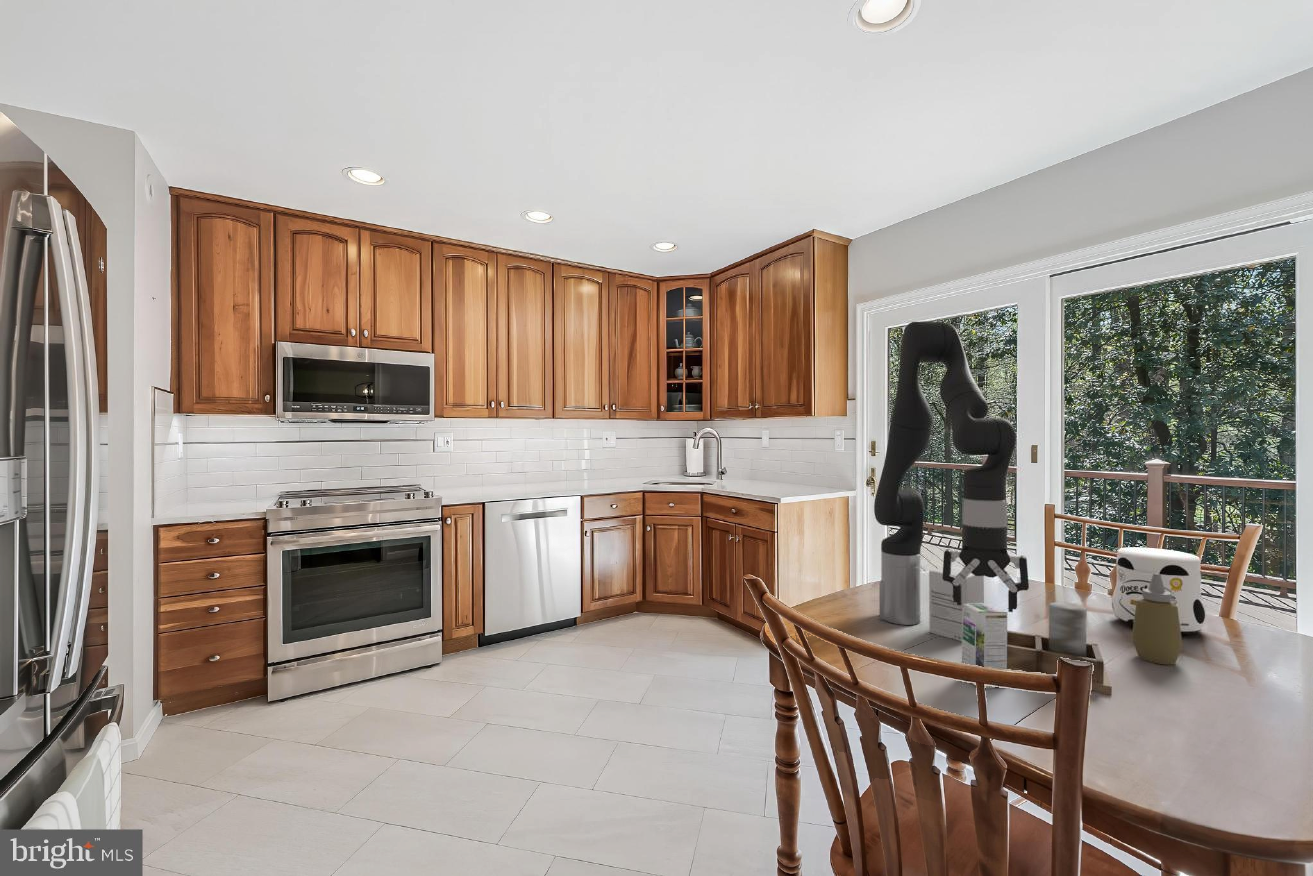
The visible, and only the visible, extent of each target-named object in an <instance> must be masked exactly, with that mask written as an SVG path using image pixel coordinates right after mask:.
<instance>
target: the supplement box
mask: <svg viewBox="0 0 1313 876" xmlns="http://www.w3.org/2000/svg"><path fill="white" fill-rule="evenodd" d="M963 568H964V567H963ZM963 568H962V567H958V566H954V565H951V575H953V576H955V577H956V576H957V575H958V574H959V573H960V572H961V570H962V569H963ZM928 572H929V573H928V577H929V578H928V581H929V582H928V583H929V584H928V587H929V588H928V589H929V591H928V594H929V602H928V603H929V604H928V605H929V606H928V607H929V609H928V610H929V614H928V616H929V619H928V621H929V623H928V624H929V627H928V629H929V633H931V634H934V635H938V636H942V637H945V638H948V639H952V638H953V639H952V640H955V641H959V640H960V641H959V642H962V609H963V604H968V603H985V577H984V576H975V575H974V574H972V573H970V574H969V575H968V576H967V577H966V578H965V579H964V580H963V581H962V582H961V584H962V604H961V605H957V602H955V601H954V600H953V585H952V584H951V583H950V582H947V581H944V580H943V578H942V577H943V566H942V567H937V568H935V569H931V570H929V571H928Z"/></svg>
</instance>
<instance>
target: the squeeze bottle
mask: <svg viewBox="0 0 1313 876" xmlns="http://www.w3.org/2000/svg"><path fill="white" fill-rule="evenodd" d="M1142 597H1143V598H1142V599H1140V600H1138V601H1137V602H1136V610H1135V617H1134V624H1133V626H1132V633H1131V640H1132V642H1133V645H1134V649H1135V651H1136V654H1137V656H1138V657H1139V658H1140V659H1142V660H1144V661H1146V662H1149V663H1155V664H1160V665H1174V664H1176V662H1177V660H1178V659H1179V658H1178V657H1179V656H1180V653H1181V651H1182V650H1183V647H1184V646H1183V640H1182V634H1181V630H1180V622H1179V614H1178V607H1177V606H1176V605H1175V604H1173V603H1171V601H1172V594H1171V593H1170V592H1167V591H1165V589H1164V585H1163V582H1162V578H1161V574H1156V573H1154V574H1153V576H1152V580H1151V583H1150V586H1149V589H1143V590H1142Z"/></svg>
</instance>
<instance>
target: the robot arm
mask: <svg viewBox="0 0 1313 876" xmlns="http://www.w3.org/2000/svg"><path fill="white" fill-rule="evenodd" d="M902 335H903V336H902V339H901V345H900V355H899V357H900V358H899V369H898V377H897V379H898V380H897V387H896V394H895V398H894V399H895V400H894V405H893V410H892V414H891V419H890V426H889V432H888V440H887V447H886V453H885V458H884V463H883V467H882V471H881V474H880V478H879V482H878V486H877V489H876V493H875V497H874V505H873V511H874V517H875V520H876V522H877V523H878V524H879V525H882V526H887V527H888V526H889V527H890V526H891V527H892V526H894V527H895V526H896V527H897V526H898V527H899V529H898V530H897V531H896V532H895V533H893V534H892V535H890V536H887V537H885V538H883V539H882V540H881V546H880V549H881V552H880V556H881V558H880V560H881V561H880V563H881V564H880V565H881V572H880V573H881V576H880V579H881V580H880V581H879V584H878V585H879V586H878V587H879V588H878V589H879V592H878V593H879V595H878V597H879V598H878V599H879V603H878V605H879V607H878V608H879V609H878V610H879V612H878V613H879V617H878V618H879V620H882V621H886V622H887V623H892V624H896V625H903V626H904V625H905V626H908V625H909V626H911V625H918V624H920V623H921V615H922V613H921V612H922V611H921V589H922V588H921V584H922V583H921V567H922V566H921V547H922V545H923V540H924V523H925V522H924V521H925V503H924V499H923V496H922V495H921V493H920V492H919V491H918V490H916V489H913V488H901V484H902V482H903V480H904V478H905V475H906V474H907V473H908V471H909V470H910V469H911V467H913V465H914V464H915V463H917V461H918V460H919V459H920V458H921V456H922V455H923V454H924V452H925V451H926V450H927V448H928V446H929V443H930V440H931V434H932V429H933V424H934V416H933V412H932V409H931V406H930V405H929V403H928V400H927V399H926V396H925V395H924V393H923V391H922V387H921V385H920V379H919V377H920V376H919V372H920V371H919V370H920V369H919V368H920V364H921V363H928V364H929V363H932V364H933V363H934V364H937V363H941V364H943V365H944V367H945V368H946V372H945V373H944V374H943V377H942V379H941V381H940V385H939V394H940V398H941V401H942V403H943V405H944V407H945V408H946V411H947V412H948V413H947V414H948V415H949V417H950V418H949V419H950V423H951V424H950V425H951V435H952V444H953V446H954V448H955V449H956V450H957V451H958V452H959V453H961V454H962V455H967V456H987V458H986V460H985V462H984V463H983V464H981V465H980V466H975V467H974V466H973V467H970V468H967V469H966V470H965V471H964V472H963V476H962V482H963V483H962V484H963V485H962V486H963V487H962V488H963V489H962V497H963V499H962V507H961V550H960V551H956V550H951V549H950V548H946V550H945V551H944V552H943V560H942V561H943V562H942V563H943V565H942V567H943V577H942V578H943V580H944V581H947V582H950V583H951V584H952V585H953V600H954V601H955V602H957V605H961V604H962V584H961V582H962V581H963V580H964V579H965V578H966V577H967V576H968V575H969V574H970V573H972V574H974V575H975V576H985V577H988V578H991V579H993V578H995V577H998V578H999V579H1000V580H1001V582H1002V583H1003V584H1005V586H1006V588H1008V594H1007V595H1008V596H1007V598H1008V600H1007V601H1008V603H1007V606H1008V607H1007V608H1008V609H1007V613H1008V612H1009V613H1013V612H1014V610H1017V608H1018V593H1019V592H1021V591H1028V590H1029V588H1030V585H1029V583H1030V582H1029V572H1028V559H1027V556H1025V555H1020V556H1010V554H1009V552H1008V520H1009V519H1008V510H1007V509H1008V508H1007V503H1006V478H1007V473H1008V471H1009V466H1010V462H1011V459H1012V456H1013V454H1014V450H1015V446H1016V442H1017V432H1016V429H1015V427H1014V425H1013V424H1012V423H1011V422H1010V421H1009V420H1008V419H1006V418H1002V417H1001V418H1000V417H990V418H988V417H987V418H986V416H987V414H988V413H989V404H988V402H987V400H986V398H985V396H984V395H983V392H982V391H981V389H980V388H979V386H978V384H977V383H976V382H975V379H974V377H973V375H972V372H971V370H970V366H969V362H968V359H967V356H966V352H965V350H964V346H963V343H962V340H961V336H960V334H959V332H958V330H957V328H956V327H955V326H954V325H953V324H951V323H949V322H942V321H936V322H935V321H912V322H908V324H907V325H906V327H905V329H904V332H903V334H902ZM957 558H959V559H960V561H961V562H962V563H963V565H964V567H963V569H962V570H961V572H960V573H959V574H958V575H957V576H956V577H955V576H953V575H951V566H952V563H954V562H956V560H957ZM1010 563H1011V564H1013V565H1014V567H1015V568H1016V569H1019V577H1020V581H1019V582H1016V581H1014V579H1013V578H1012V577H1011V576H1010V574H1009V573H1008V572H1007V570H1006V568H1007V566H1009V565H1010Z"/></svg>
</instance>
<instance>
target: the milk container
mask: <svg viewBox="0 0 1313 876" xmlns="http://www.w3.org/2000/svg"><path fill="white" fill-rule="evenodd" d="M1115 561H1116V583H1115V584H1116V585H1115V588H1114V590H1113V593H1112V597H1111V606H1112V612H1113V614H1114V617H1116V618H1117V619H1118V620H1120V621H1121V622H1123V623H1125V624H1126V625H1129V626H1132V627H1133V624H1134V617H1135V610H1136V602H1137V601H1138V600H1140V599H1142V598H1143V597H1142V590H1143V589H1149V586H1150V583H1151V580H1152V576H1153V574H1154V573H1156V574H1161V578H1162V582H1163V585H1164V589H1165V591H1167V592H1170V593H1171V594H1172V601H1171V603H1173V604H1175V605H1176V606H1177V607H1178V614H1179V622H1180V630H1181V635H1186V634H1187V635H1188V634H1189V635H1190V634H1191V635H1192V634H1194V633H1198V632H1200V631H1202V630H1203V629H1204V627H1205V624H1206V619H1207V610H1206V606H1205V604H1204V602H1203V597H1202V591H1201V590H1202V589H1201V585H1202V573H1201V569H1202V566H1201V559H1200V557H1199V556H1197V555H1196V554H1193V553H1187V552H1183V551H1178V550H1170V549H1163V548H1152V547H1139V546H1137V547H1136V546H1135V547H1134V546H1133V547H1128V546H1127V547H1121V548H1118V549H1117V553H1116V560H1115Z"/></svg>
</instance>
